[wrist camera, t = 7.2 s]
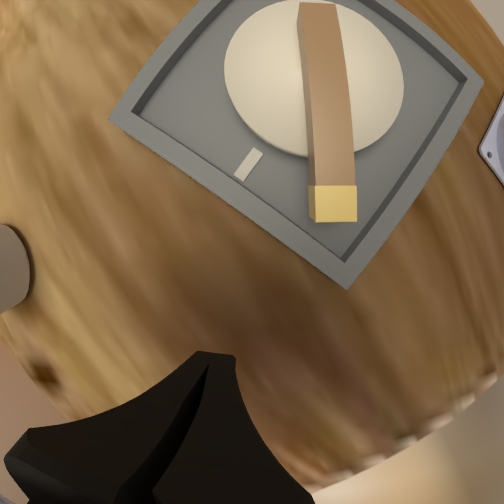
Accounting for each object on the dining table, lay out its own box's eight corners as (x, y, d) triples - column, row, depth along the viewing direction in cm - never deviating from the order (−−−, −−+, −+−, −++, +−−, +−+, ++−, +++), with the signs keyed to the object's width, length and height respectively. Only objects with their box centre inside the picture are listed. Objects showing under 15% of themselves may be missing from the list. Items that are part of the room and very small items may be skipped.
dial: (378, 20, 14) (401, -12, 10) (398, 211, 17) (433, 221, 13) (226, 17, 15) (215, -20, 11) (235, 215, 18) (223, 225, 13)
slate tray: (468, 87, 16) (484, 81, 14) (339, 279, 20) (346, 290, 17) (273, -46, 14) (273, -62, 12) (122, 125, 18) (107, 119, 16)
